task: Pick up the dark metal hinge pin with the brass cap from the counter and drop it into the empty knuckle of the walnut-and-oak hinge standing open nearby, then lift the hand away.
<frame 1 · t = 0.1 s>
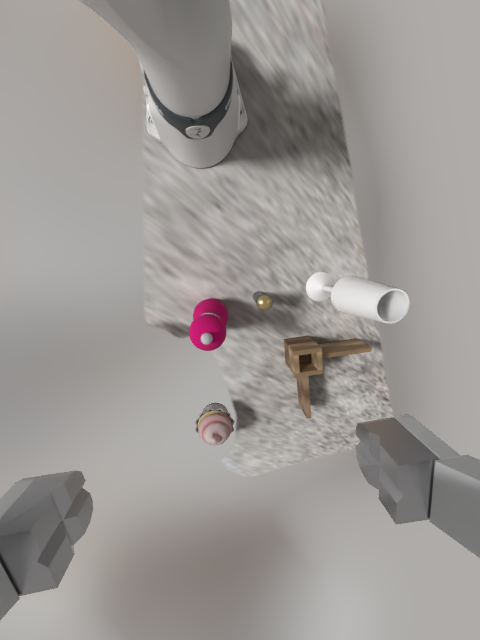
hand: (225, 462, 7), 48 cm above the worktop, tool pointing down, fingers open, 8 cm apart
hinge: (296, 349, 58), on the worktop
champagne flute: (319, 286, 55), on the worktop
hinge pin: (258, 296, 55), on the worktop
pepper mill: (211, 311, 55), on the worktop
cupcake: (215, 412, 61), on the worktop
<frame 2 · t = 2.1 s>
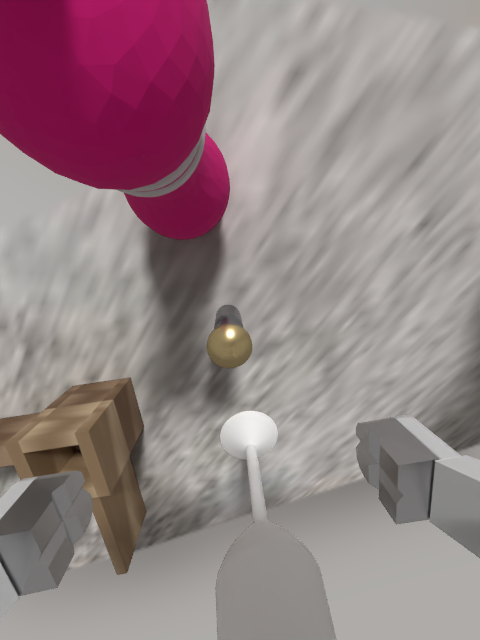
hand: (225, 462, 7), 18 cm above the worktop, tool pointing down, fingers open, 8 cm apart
hinge: (109, 406, 26), on the worktop
champagne flute: (249, 434, 28), on the worktop
hinge pin: (228, 316, 24), on the worktop
pepper mill: (188, 200, 21), on the worktop
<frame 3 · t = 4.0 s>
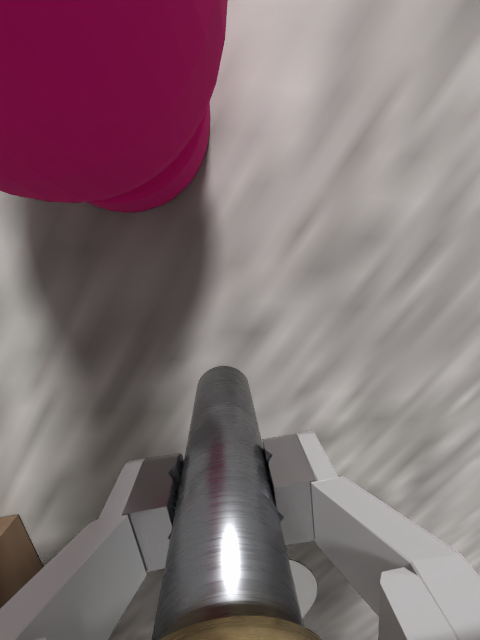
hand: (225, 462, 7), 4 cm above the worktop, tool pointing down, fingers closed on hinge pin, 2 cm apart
champagne flute: (263, 593, 15), on the worktop
hinge pin: (223, 390, 11), on the worktop, touching gripper
pepper mill: (121, 119, 8), on the worktop
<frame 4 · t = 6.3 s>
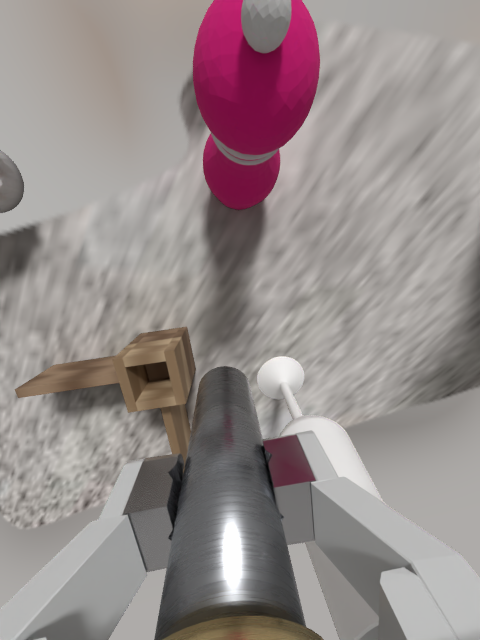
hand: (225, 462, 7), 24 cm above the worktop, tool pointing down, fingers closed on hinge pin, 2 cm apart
hinge: (168, 351, 32), on the worktop
champagne flute: (280, 377, 34), on the worktop
hinge pin: (224, 390, 11), point 20 cm above the worktop, touching gripper
pepper mill: (238, 180, 27), on the worktop
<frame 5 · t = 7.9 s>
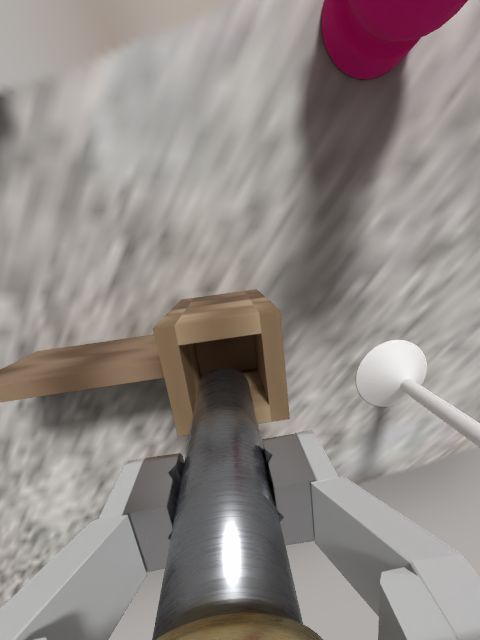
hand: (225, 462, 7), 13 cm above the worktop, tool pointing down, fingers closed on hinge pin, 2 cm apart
hinge: (224, 330, 20), on the worktop
champagne flute: (390, 373, 22), on the worktop
hinge pin: (223, 390, 11), point 9 cm above the worktop, touching gripper
pepper mill: (366, 24, 16), on the worktop
when the fingers open (9 cm above the worktop, at t = 8.9 s): hinge pin drops 1 cm, resting on hinge.
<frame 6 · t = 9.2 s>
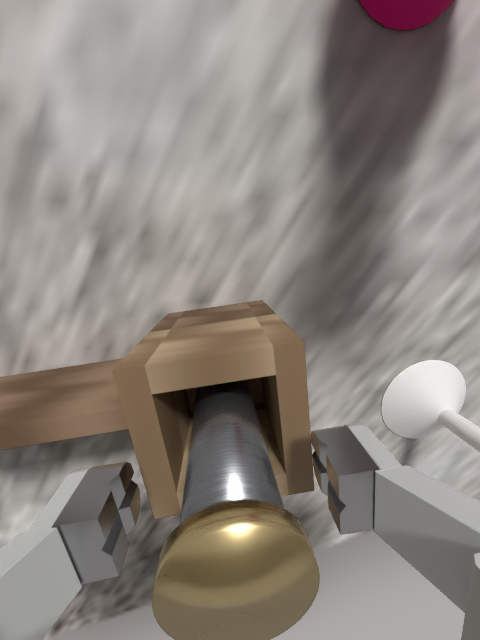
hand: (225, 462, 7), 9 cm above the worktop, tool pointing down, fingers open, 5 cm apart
hinge: (222, 351, 16), on the worktop
champagne flute: (421, 399, 18), on the worktop
hinge pin: (222, 376, 13), point 4 cm above the worktop, touching hinge
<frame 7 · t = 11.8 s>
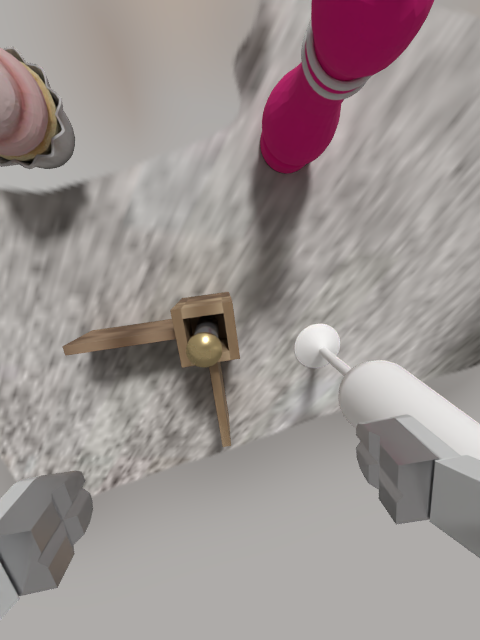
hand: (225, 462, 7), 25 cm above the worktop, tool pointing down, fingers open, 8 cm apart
hinge: (209, 317, 32), on the worktop
champagne flute: (316, 345, 34), on the worktop
hinge pin: (207, 324, 28), point 4 cm above the worktop, touching hinge
pepper mill: (286, 144, 28), on the worktop
cupcake: (47, 138, 26), on the worktop
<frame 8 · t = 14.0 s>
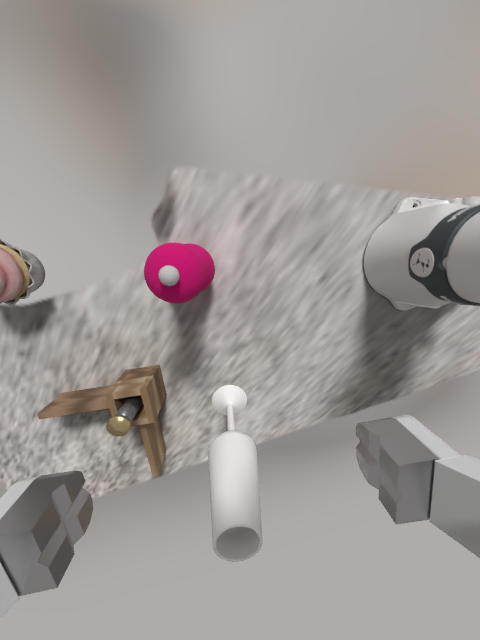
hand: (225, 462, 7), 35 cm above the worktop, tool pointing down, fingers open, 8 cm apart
hinge: (146, 382, 44), on the worktop
champagne flute: (229, 400, 46), on the worktop
hinge pin: (140, 393, 41), point 4 cm above the worktop, touching hinge
pepper mill: (193, 268, 40), on the worktop
cupcake: (26, 271, 38), on the worktop
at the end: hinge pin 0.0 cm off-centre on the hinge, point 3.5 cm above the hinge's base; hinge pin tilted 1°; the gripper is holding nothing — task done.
